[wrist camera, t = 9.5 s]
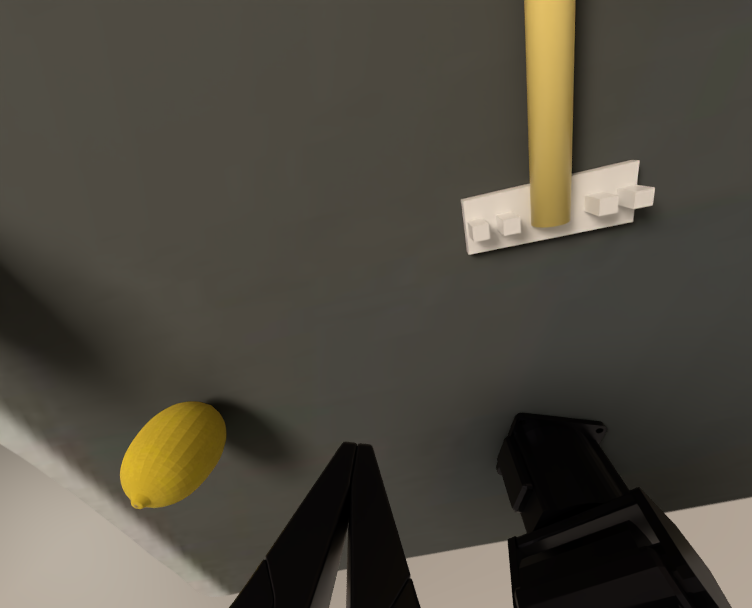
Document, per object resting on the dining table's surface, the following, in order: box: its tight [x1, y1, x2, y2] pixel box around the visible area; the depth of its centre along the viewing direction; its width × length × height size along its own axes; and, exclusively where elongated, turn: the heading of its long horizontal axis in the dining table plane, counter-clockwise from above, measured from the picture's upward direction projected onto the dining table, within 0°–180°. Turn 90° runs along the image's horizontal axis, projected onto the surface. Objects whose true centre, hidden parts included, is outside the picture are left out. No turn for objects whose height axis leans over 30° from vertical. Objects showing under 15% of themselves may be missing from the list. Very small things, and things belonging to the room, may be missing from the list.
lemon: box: [120, 402, 226, 509], centre depth 22 cm, size 6×6×8 cm
